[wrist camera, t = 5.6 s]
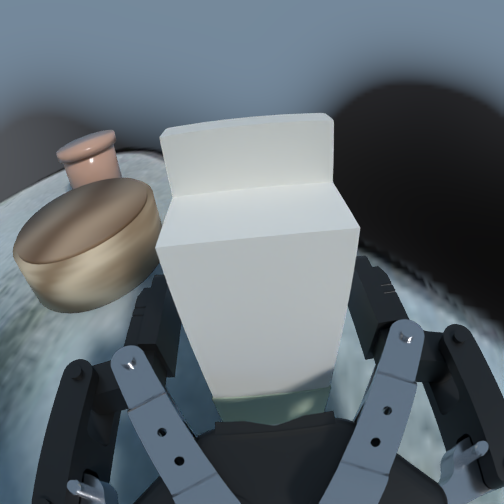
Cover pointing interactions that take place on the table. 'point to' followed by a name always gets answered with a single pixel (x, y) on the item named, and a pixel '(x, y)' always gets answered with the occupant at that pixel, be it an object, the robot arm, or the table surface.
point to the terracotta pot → (90, 158)
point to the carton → (259, 260)
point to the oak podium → (90, 245)
